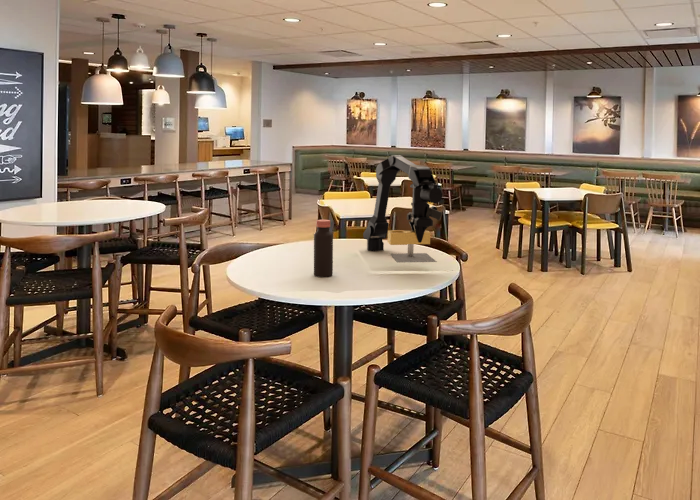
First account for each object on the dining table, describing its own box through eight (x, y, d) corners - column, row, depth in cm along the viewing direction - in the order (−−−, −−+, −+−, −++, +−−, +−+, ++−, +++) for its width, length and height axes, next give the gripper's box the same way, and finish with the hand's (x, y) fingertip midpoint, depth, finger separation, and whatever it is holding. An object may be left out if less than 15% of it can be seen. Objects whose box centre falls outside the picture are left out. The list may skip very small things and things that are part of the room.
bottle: (325, 278, 217) (326, 222, 213) (310, 275, 221) (310, 220, 217) (336, 274, 223) (336, 220, 219) (320, 272, 226) (321, 218, 223)
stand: (396, 265, 241) (397, 246, 239) (389, 256, 258) (389, 238, 257) (436, 264, 242) (437, 246, 241) (426, 255, 260) (426, 238, 259)
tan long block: (426, 241, 237) (427, 230, 236) (430, 244, 231) (431, 232, 230) (387, 241, 236) (387, 230, 235) (390, 244, 229) (390, 233, 229)
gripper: (447, 203, 222) (445, 245, 225) (434, 198, 241) (433, 237, 244) (417, 203, 221) (415, 245, 224) (407, 197, 239) (405, 237, 242)
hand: (418, 241), depth 234 cm, fingers closed on tan long block, 4 cm apart
